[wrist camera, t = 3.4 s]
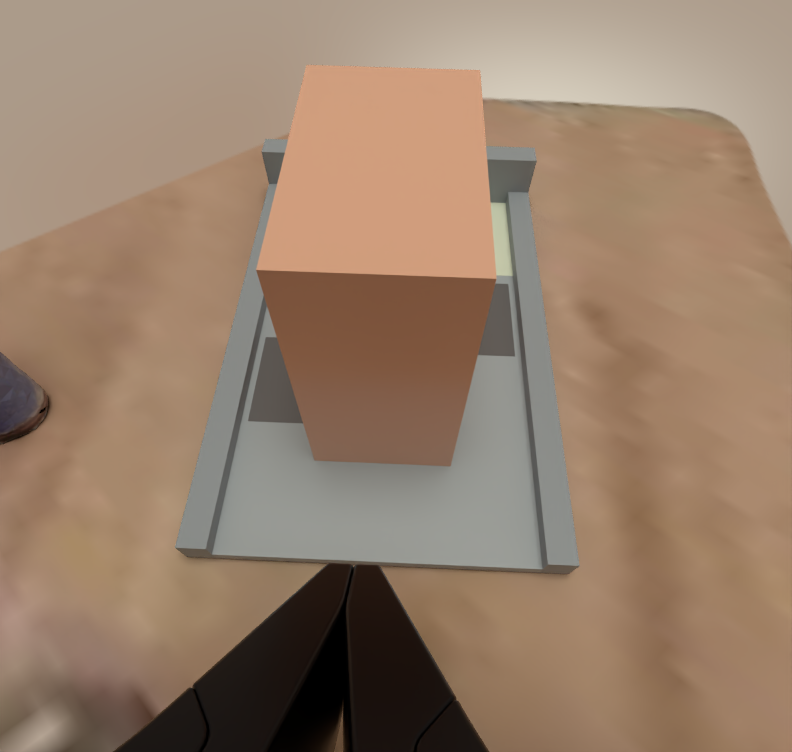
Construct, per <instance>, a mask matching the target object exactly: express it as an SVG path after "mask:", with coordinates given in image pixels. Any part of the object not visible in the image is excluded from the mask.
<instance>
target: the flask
mask: <svg viewBox="0 0 792 752" xmlns="http://www.w3.org/2000/svg"><path fill="white" fill-rule="evenodd" d="M47 398H48V396H47V395H46V394H45V391H44V390H43V389H42V388H41V387H40V386H39V385H38V384H37V383H36V382H35V381H34V380H33V379H31V378H30V377H29V376H28V375H27V374H26V373H24V372H23V371H22V370H20V369H19V368H18V367H17V366H16V365H14V364H13V363H12V362H11V361H10V360H9V359H8V358H7V357H6V356H4V355H3V354H2V353H1V352H0V444H4V443H5V442H6V441H10V440H11V439H13V438H16V437H19V436H21V435H22V436H23V434H24V435H25V434H28V432H29V431H30V430H35V429H36V428H37V427H38V425H39V424H40V423H41V422H42V421H43V420H44V418H45V416H46V414H47V406H48V399H47ZM45 407H46V409H45V411H44V412H42V413H40V414H38V413H39V412H40V411H41V409H42V410H43V409H44V408H45Z"/></svg>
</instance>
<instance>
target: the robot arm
mask: <svg viewBox="0 0 792 752" xmlns="http://www.w3.org/2000/svg"><path fill="white" fill-rule="evenodd" d="M342 710H343V752H489V751H488V749H487V747H486V746H485V744H484V743H483V741H482V740H481V738H480V736H479V735H478V733H477V732H476V730H475V728H474V727H473V725H472V724H471V722H470V720H469V719H468V717H467V715H466V713H465V712H464V710H463V708H462V706H461V705H460V703H459V702H458V701H457V700H456V697H455V695H454V693H453V691H452V690H451V688H450V686H449V685H448V683H447V681H446V679H445V678H444V676H443V674H442V672H441V671H440V669H439V667H438V666H437V664H436V662H435V660H434V659H433V657H432V655H431V654H430V652H429V650H428V648H427V647H426V645H425V643H424V641H423V640H422V638H421V636H420V635H419V633H418V631H417V629H416V628H415V626H414V624H413V623H412V621H411V619H410V617H409V616H408V614H407V612H406V610H405V609H404V607H403V605H402V604H401V602H400V600H399V598H398V597H397V595H396V593H395V592H394V590H393V588H392V586H391V585H390V583H389V581H388V579H387V578H386V576H385V574H384V573H383V571H382V569H381V568H380V566H378V565H371V564H357V565H355V567H353V565H351V564H347V563H329V564H327V565H326V566H325V567H324V568H323V569H321V570H320V571H319V572H318V573H317V574H316V575H315V576H314V577H312V578H311V579H310V580H309V581H308V582H307V583H306V584H305V585H304V586H302V587H301V588H300V589H299V590H298V591H297V592H296V593H295V594H293V595H292V596H291V597H290V598H289V599H288V600H287V601H286V602H285V603H283V604H282V605H281V606H280V607H279V608H278V609H277V610H276V611H274V612H273V613H272V614H271V615H270V616H269V617H268V618H267V619H265V620H264V621H263V622H262V623H261V624H260V625H259V626H258V627H257V628H255V629H254V630H253V631H252V632H251V633H250V634H249V635H248V636H246V637H245V638H244V639H243V640H242V641H241V642H240V643H239V644H238V645H236V646H235V647H234V648H233V649H232V650H231V651H230V652H229V653H227V654H226V655H225V656H224V657H223V658H222V659H221V660H220V661H219V662H217V663H216V664H215V665H214V666H213V667H212V668H211V669H210V670H208V671H207V672H206V673H205V674H204V675H203V676H202V677H201V678H200V679H198V680H197V681H196V682H195V683H194V684H193V687H192V688H188V689H187V690H186V691H185V692H184V693H182V694H181V695H180V696H179V697H178V698H177V699H176V700H175V701H174V702H172V703H171V704H170V705H169V706H168V707H167V708H166V709H164V710H163V711H162V712H161V713H160V714H158V715H157V716H156V717H155V718H154V719H153V720H151V721H150V722H149V723H148V724H147V725H146V726H144V727H143V728H142V729H141V730H140V731H138V732H137V733H136V734H135V735H134V736H132V737H131V738H130V739H128V740H127V741H126V742H125V743H123V744H122V745H121V746H119V747H118V748H117V749H116V750H114V751H113V752H334V749H335V745H336V740H337V736H338V732H339V727H340V722H341V717H342Z"/></svg>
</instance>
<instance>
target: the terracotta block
mask: <svg viewBox="0 0 792 752" xmlns="http://www.w3.org/2000/svg"><path fill="white" fill-rule="evenodd" d="M256 271H257V275H258V278H259V281H260V284H261V288H262V291H263V294H264V297H265V301H266V304H267V307H268V310H269V314H270V317H271V320H272V324H273V327H274V330H275V333H276V337H277V340H278V343H279V346H280V350H281V353H282V356H283V359H284V363H285V366H286V369H287V372H288V376H289V379H290V382H291V385H292V389H293V392H294V395H295V398H296V402H297V405H298V408H299V411H300V415H301V418H302V421H303V424H304V428H305V431H306V434H307V438H308V441H309V444H310V447H311V451H312V454H313V457H314V460H315V461H336V462H360V463H383V464H407V465H431V466H451V463H452V458H453V454H454V450H455V446H456V442H457V438H458V434H459V430H460V426H461V422H462V418H463V414H464V410H465V405H466V401H467V397H468V393H469V389H470V385H471V381H472V377H473V373H474V369H475V365H476V361H477V357H478V352H479V348H480V344H481V340H482V336H483V332H484V328H485V324H486V320H487V316H488V312H489V308H490V304H491V299H492V295H493V291H494V287H495V283H496V279H497V278H496V265H495V253H494V240H493V227H492V215H491V202H490V189H489V177H488V164H487V152H486V139H485V126H484V114H483V101H482V89H481V76H480V70H455V69H454V70H453V69H422V68H390V67H389V68H388V67H357V66H323V65H306V69H305V74H304V77H303V81H302V86H301V89H300V93H299V98H298V102H297V106H296V110H295V114H294V118H293V122H292V126H291V130H290V134H289V138H288V142H287V146H286V150H285V154H284V158H283V162H282V167H281V171H280V175H279V179H278V183H277V187H276V191H275V195H274V199H273V203H272V207H271V211H270V215H269V219H268V223H267V227H266V232H265V236H264V240H263V244H262V248H261V252H260V256H259V260H258V264H257V268H256Z"/></svg>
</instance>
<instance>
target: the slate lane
mask: <svg viewBox="0 0 792 752" xmlns="http://www.w3.org/2000/svg"><path fill="white" fill-rule="evenodd" d="M287 142H288V140H279V139H265V142H264V146H263V149H262V155H263V160H264V164H265V168H266V172H267V177H268V181H269V186H268V190H267V194H266V198H265V201H264V205H263V209H262V213H261V217H260V221H259V225H258V229H257V232H256V236H255V240H254V244H253V248H252V252H251V256H250V259H249V263H248V267H247V271H246V275H245V279H244V283H243V287H242V290H241V294H240V298H239V302H238V306H237V310H236V314H235V317H234V321H233V325H232V329H231V333H230V337H229V341H228V345H227V348H226V352H225V356H224V360H223V364H222V368H221V372H220V375H219V379H218V383H217V387H216V391H215V395H214V399H213V402H212V406H211V410H210V414H209V418H208V422H207V426H206V430H205V433H204V437H203V441H202V445H201V449H200V453H199V457H198V460H197V464H196V468H195V472H194V476H193V480H192V484H191V488H190V491H189V495H188V499H187V503H186V507H185V511H184V515H183V518H182V522H181V526H180V530H179V534H178V538H177V542H176V546H175V548H176V549H177V550H179V551H180V552H181V553H183V554H184V555H185V556H187V557H203V558H225V559H247V560H270V561H292V562H314V563H347V564H371V565H381V566H403V567H425V568H447V569H469V570H492V571H514V572H536V573H558V574H569V573H571V572H572V571H573V570H575V569H576V568H577V567H579V559H578V552H577V544H576V537H575V530H574V522H573V515H572V508H571V501H570V493H569V486H568V479H567V472H566V464H565V457H564V450H563V442H562V435H561V428H560V421H559V413H558V406H557V399H556V392H555V384H554V377H553V370H552V362H551V355H550V348H549V341H548V333H547V326H546V319H545V311H544V304H543V297H542V290H541V282H540V275H539V268H538V261H537V253H536V246H535V239H534V231H533V224H532V217H531V210H530V202H529V195H528V191H529V187H530V184H531V180H532V176H533V172H534V169H535V165H536V155H535V148H523V147H493V146H486V152H487V164H488V177H489V189H490V202H491V215H492V227H493V240H494V253H495V265H496V278H497V279H496V283H495V287H494V291H493V295H492V299H491V304H490V308H489V312H488V316H487V320H486V324H485V328H484V332H483V336H482V340H481V344H480V348H479V352H478V357H477V361H476V365H475V369H474V373H473V377H472V381H471V385H470V389H469V393H468V397H467V401H466V405H465V410H464V414H463V418H462V422H461V426H460V430H459V434H458V438H457V442H456V446H455V450H454V454H453V458H452V463H451V466H431V465H407V464H383V463H360V462H336V461H315V460H314V457H313V454H312V451H311V447H310V444H309V441H308V438H307V434H306V431H305V428H304V424H303V421H302V418H301V415H300V411H299V408H298V405H297V402H296V398H295V395H294V392H293V389H292V385H291V382H290V379H289V376H288V372H287V369H286V366H285V363H284V359H283V356H282V353H281V350H280V346H279V343H278V340H277V337H276V333H275V330H274V327H273V324H272V320H271V317H270V314H269V310H268V307H267V304H266V301H265V297H264V294H263V291H262V288H261V284H260V281H259V278H258V275H257V271H256V268H257V264H258V260H259V256H260V252H261V248H262V244H263V240H264V236H265V232H266V227H267V223H268V219H269V215H270V211H271V207H272V203H273V199H274V195H275V191H276V187H277V183H278V179H279V175H280V171H281V167H282V162H283V158H284V154H285V150H286V146H287Z"/></svg>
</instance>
